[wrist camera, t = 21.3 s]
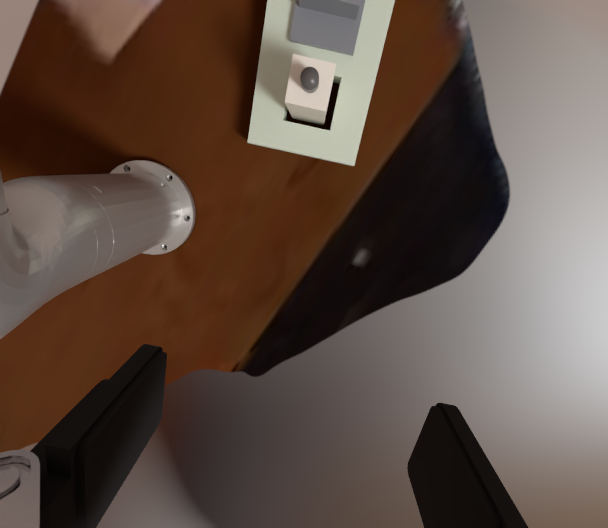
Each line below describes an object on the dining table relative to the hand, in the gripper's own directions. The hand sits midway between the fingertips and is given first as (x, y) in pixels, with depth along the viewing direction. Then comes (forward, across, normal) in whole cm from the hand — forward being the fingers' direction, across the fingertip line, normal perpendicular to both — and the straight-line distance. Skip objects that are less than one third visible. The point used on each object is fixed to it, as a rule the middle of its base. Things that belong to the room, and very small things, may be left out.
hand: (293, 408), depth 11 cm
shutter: (+30, +3, -23) cm, 38 cm away
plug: (+33, +3, -15) cm, 37 cm away
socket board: (+33, +3, -19) cm, 38 cm away
